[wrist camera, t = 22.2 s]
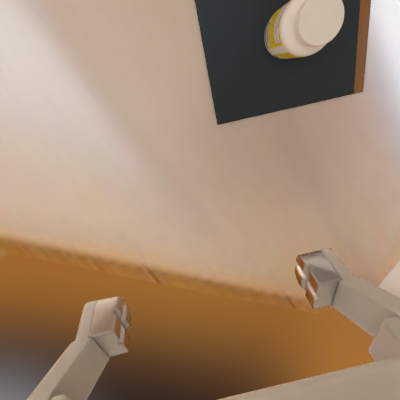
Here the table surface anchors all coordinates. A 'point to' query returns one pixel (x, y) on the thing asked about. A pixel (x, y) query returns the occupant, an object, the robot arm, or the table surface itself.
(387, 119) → the table surface
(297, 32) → the supplement bottle
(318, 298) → the robot arm
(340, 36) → the mat
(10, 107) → the table surface
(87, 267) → the table surface
